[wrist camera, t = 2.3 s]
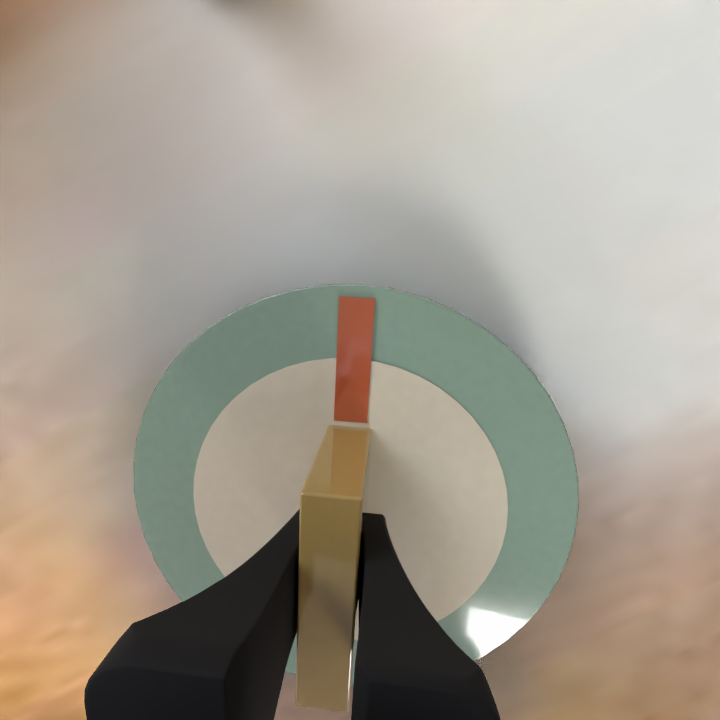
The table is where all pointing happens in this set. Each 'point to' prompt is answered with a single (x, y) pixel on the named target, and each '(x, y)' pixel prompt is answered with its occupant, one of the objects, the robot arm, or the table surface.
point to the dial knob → (359, 466)
